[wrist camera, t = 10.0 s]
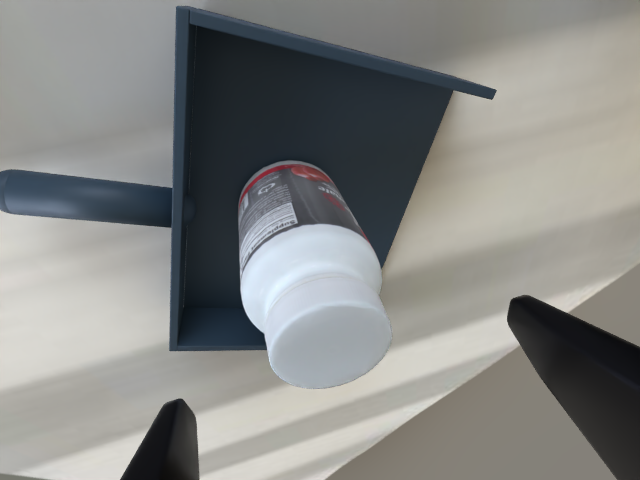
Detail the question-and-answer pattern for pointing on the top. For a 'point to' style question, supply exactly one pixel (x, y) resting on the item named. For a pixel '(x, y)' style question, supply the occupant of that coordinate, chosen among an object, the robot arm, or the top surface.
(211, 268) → the dustpan
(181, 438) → the robot arm
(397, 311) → the top surface
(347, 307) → the pill bottle
